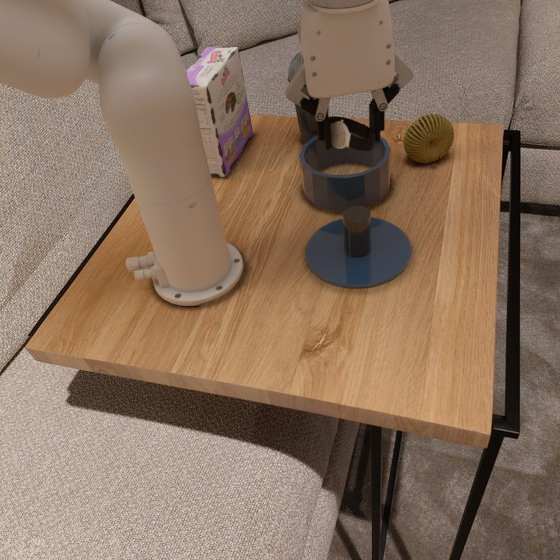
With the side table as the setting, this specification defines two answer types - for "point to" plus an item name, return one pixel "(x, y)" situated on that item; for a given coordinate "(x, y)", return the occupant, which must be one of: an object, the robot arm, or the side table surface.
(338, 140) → the watch
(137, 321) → the side table surface
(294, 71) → the beverage cup
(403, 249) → the tin lid
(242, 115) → the candy box
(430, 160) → the sculpture
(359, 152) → the tin
